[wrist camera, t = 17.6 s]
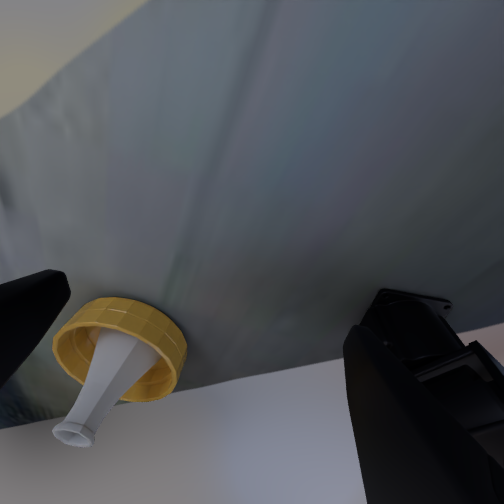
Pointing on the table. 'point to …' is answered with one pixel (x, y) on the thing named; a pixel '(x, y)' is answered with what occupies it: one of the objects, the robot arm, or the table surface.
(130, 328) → the bowl
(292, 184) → the table surface
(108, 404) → the flask
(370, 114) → the table surface
